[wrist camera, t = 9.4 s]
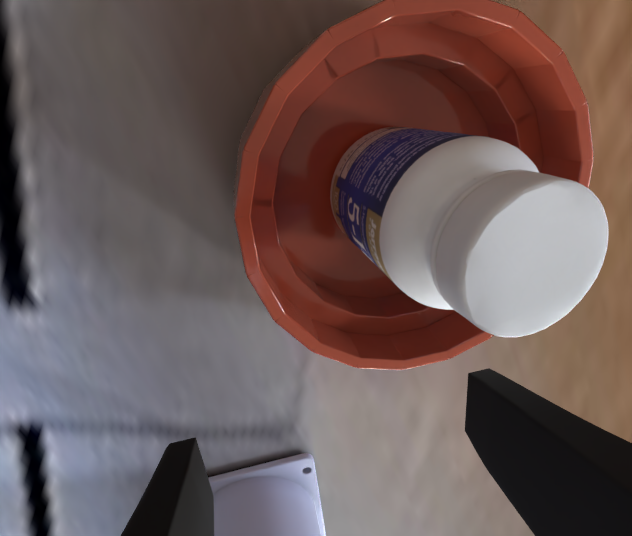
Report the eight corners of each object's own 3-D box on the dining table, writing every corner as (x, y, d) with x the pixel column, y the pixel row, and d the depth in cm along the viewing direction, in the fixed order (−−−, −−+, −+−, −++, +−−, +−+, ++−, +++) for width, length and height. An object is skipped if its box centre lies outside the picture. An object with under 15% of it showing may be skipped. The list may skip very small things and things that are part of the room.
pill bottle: (302, 191, 16) (386, 272, 8) (394, 98, 16) (582, 85, 8) (378, 270, 18) (503, 394, 10) (461, 190, 18) (661, 256, 10)
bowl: (499, 289, 21) (564, 333, 17) (262, 339, 19) (271, 401, 15) (524, 8, 16) (626, -26, 12) (203, 40, 14) (192, 13, 10)
